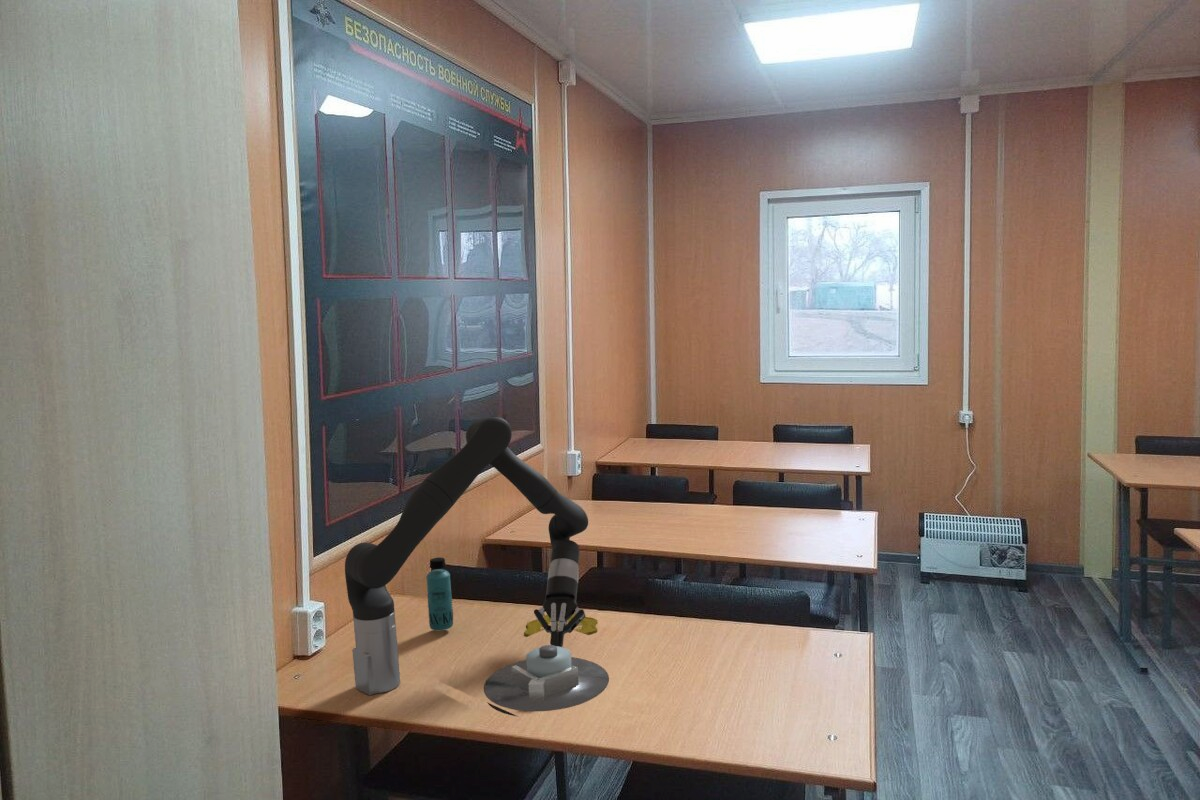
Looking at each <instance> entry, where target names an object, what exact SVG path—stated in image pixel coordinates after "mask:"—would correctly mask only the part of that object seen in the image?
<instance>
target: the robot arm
mask: <svg viewBox="0 0 1200 800" xmlns="http://www.w3.org/2000/svg"><path fill="white" fill-rule="evenodd" d="M512 433H513V431H512V428H511V425H510V423H509V422H508V421H507V420H506V419H504V418H502V417H499V416H498V417H497V416H489V417H485V418H480V419H477V420H475V421H474V422H472V423H471V424H469V426H468V427H467V429H466V432H465V440H466V443H465V445H464V446H463V447H462V448H461V450H460V451H459V452H457V453H456V454H455V455H453V456H452V457H451V458H449V459H448V460H447V461H445V462H444V463H443V464H440V466H439V467H437V468H436V469H434V470H433V471H432V472H431V473H430V474H428V475H427V476H426V477H425V478H424V479H423V480H422V481H421V482H420V483H419V485H417V487H416V488H415V489H414V490H413V492H411V494H410V496H408V498H407V499H406V500H407V501H406V502H405V504H404V508H403V510H402V512H401V516H400V517H399V520H398V522H397V523H396V525H395V527H394V528H393V529H392V530H391V531H390V532H389V533H388V534H387V535H386V537H384V539H383V540H381V542H379V543H378V544H375V543H371V542H361V543H357V544H356V545H354V546H353V547H352V548H350V550H349V551H348V553H347V555H346V557H345V561H344V577H345V585H346V593H347V600H348V603H349V605H350V607H351V611H352V617H353V618H352V619H353V629H354V640H355V647H353V648H352V650H351V651H352V661H353V672H354V682H355V683H354V685H355V690H356V689H357V690H358V691H360V692H362V693H364V694H366V695H368V696H372V695H374V694H382V693H386V692H389V691H392V690H394V689H396V688H397V687H399V685H400V684H401V676H400V675H401V672H400V661H399V650H398V649H399V648H398V637H397V624H396V623H397V621H396V613H395V612H396V611H395V601H394V599H393V597H392V596H391V595H390V593H389V591H388V588H387V586H386V585H388V584H389V583H390V582H391V581H392V580H393V579H394V578H395V576H396V575H397V574H398V573H399V571H400V570H401V568H402V567H403V565H404V564H405V563H406V561H407V560H408V559H409V557H410V556H411V555H412V554H413V552H414V550H415V549H416V548H417V547H418V546H419V544H420V543H421V542H422V541H423V540H424V539H425V537H427V535H428V534H429V533H430V532H431V531H432V530H433V528H434V527H435V526H436V525H437V524H438V522H440V520H442V519H443V517H444V516H445V515H446V514H447V513H448V512H449V511H450V509H451V508H452V507H453V506H454V505H455V504H456V503H457V501H458V500H459V499H460V498H461V497H462V495H463V494H464V493H465V492H466V491H467V490H468V488H469V487H470V486H471V484H472V483H474V481H475V480H476V479H477V477H478V476H479V475H480V474H481V472H482V471H483V470H485V469H486V467H488V466H489V465H491V466H492V468H494V469H495V470H497V471H498V472H499V473H500V474H501V475H502V476H503V477H505V478H506V479H507V480H508V482H510V483H511V484H512V485H513V486H514V487H515V488H516V489H517V490H518V491H519V492H520V493H521V494H522V495H523V496H524V497H525V498H526V500H527V501H528V502H529V503H531V505H532V506H533V507H534V508H535V510H537V511H538V513H540V514H542V515H549V514H551V515H553V516H551V518H550V520H549V522H548V535H549V539H550V545H551V546H550V547H551V556H550V565H549V569H548V573H547V581H546V582H547V584H546V593H545V599H544V602H543V604H542V607H540V608H538V609H534V610H533V614H534V616H535V618H536V620H537V619H538V621H539V622H540V623H541V625H542V626H543V627H542V628H543V630H545V632H546V633H548V634H550V640H549V641H550V643H549V645H554V646H558V647H563V646H564V636H565V634H567V633H569V634H571V633H573V632H574V631H575V629H577V628H578V624H579V623H580V622H581V621H582V620H583V619H584V618H585V617H586V613H585V611H584V609H582V608H579V605H578V602H577V597H578V587H579V562H580V546H579V544H578V543H577V542H575V541H573V540H571V538H572V537H573V536H576V535H578V534H580V533H583V532H584V531H586V530H587V529H588V526H589V517H588V515H587V513H586V511H585V510H584V509H583V507H581V506H580V505H579V504H577V503H576V502H574V501H573V500H571V499H570V498H568V497H567V496H565V495H563V494H562V493H560V492H559V491H558V490H557V489H556V488H555V486H553V484H552V483H550V481H549V480H548V479H547V478H546V477H545V476H544V475H543V474H542V473H540V472H539V471H538V470H536V469H535V468H534V467H532V465H529V463H526V462H525V461H523V459H521V458H520V457H518V456H517V455H516V454H515V453H514V452H513V451H512V450H511V449H510V447H509V445H510V443H511V440H512V435H513V434H512ZM545 613H546V614H545ZM573 614H574V615H575V616H574V617H573V618H572V619H571V620H570V621H569V622H567V620H568V619H570V617H571V616H572V615H573ZM545 615H548V616H549V618H550V619H551V622H550V624H548V623H547V622H546V620H545V619H544V617H545ZM558 624H559V625H558Z"/></svg>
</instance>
